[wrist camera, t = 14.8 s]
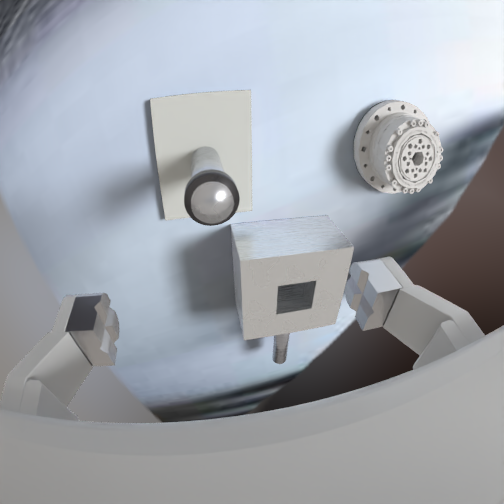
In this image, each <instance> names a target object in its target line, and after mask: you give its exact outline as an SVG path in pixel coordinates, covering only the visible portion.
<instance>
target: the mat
mask: <svg viewBox="0 0 504 504" xmlns="http://www.w3.org/2000/svg"><path fill="white" fill-rule="evenodd" d="M150 104H151V115H152V125H153V135H154V143H155V152H156V160H157V167H158V175H159V182H160V189H161V195H162V202H163V208H164V214H165V220H173V219H181V218H190V216H189V215H188V213H187V211H186V209H185V205H184V193H185V188H186V185H187V183H188V181H189V180H190V179H191V157H192V154H193V153H194V152H195V151H196V150H197V149H198V148H200V147H205V146H207V147H211V148H213V149H215V150H216V151H217V152H218V154H219V157H220V160H221V163H222V166H223V169H224V172H225V173H226V174H228V175H229V176H230V177H231V178H232V179H233V181H234V182H235V184H236V187H237V189H238V192H239V197H240V201H239V206H238V209H237V211H236V212H247V211H252V137H251V90H235V91H216V92H203V93H192V94H182V95H174V96H166V97H159V98H152V99H150ZM236 212H235V213H236Z"/></svg>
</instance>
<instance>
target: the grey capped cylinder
mask: <svg viewBox="0 0 504 504" xmlns="http://www.w3.org/2000/svg"><path fill="white" fill-rule="evenodd" d="M239 201H240V197H239V192H238V189H237V187H236V184H235V182H234V181H233V179H232V178H231V177H230V176H229V175H228V174H226V173H225V172H224V169H223V166H222V163H221V160H220V157H219V154H218V152H217V151H216V150H215V149H213V148H211V147H207V146H205V147H200V148H198V149H197V150H196V151H195V152H194V153H193V154H192V157H191V179H190V180H189V181H188V183H187V185H186V188H185V193H184V205H185V209H186V211H187V213H188V215H189V216H190V217H191V218H192V219H193V220H194V221H196V222H198V223H200V224H203V225H210V226H211V225H218V224H222V223H224V222H226V221H227V220H229V219H230V218H231V217H232V216H233V215H234V214H235V212H236V211H237V209H238V206H239Z"/></svg>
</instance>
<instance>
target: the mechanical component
mask: <svg viewBox="0 0 504 504" xmlns="http://www.w3.org/2000/svg"><path fill="white" fill-rule="evenodd" d="M442 152H443V148H442V147H441V143H440V139H439V133H438V132H437V131H436V130H435V129H434V127H433V126H432V125H431V124H430V123H429V121H428V119H427V117H426V116H425V115H424V113H423V112H422V111H421V110H420V109H419V108H417V107H416V106H414V105H412V104H410V103H407V102H404V101H398V100H389V101H384V102H381V103H379V104H377V105H376V106H374V107H372V108H371V109H370V110H369V112H368V113H367V114H366V115H365V116H364V117H363V119H362V121H361V122H360V124H359V126H358V129H357V131H356V134H355V139H354V159H355V163H356V166H357V169H358V171H359V173H360V175H361V176H362V177H363V179H364V180H365V181H366V182H367V183H368V184H370V185H371V186H372V187H374V188H375V189H377V190H379V191H381V192H384V193H393V194H394V193H398V192H403V193H410V194H413V193H414V192H415V191H416V192H420V190H421V189H422V188H423V187H424V186H426V185H427V183H432V178H433V176H434V175H435V173H436V171H437V169H440V167H441V165H440V164H439V163H440V161H442V159H443V157H442V156H441V153H442Z"/></svg>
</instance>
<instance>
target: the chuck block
mask: <svg viewBox="0 0 504 504" xmlns="http://www.w3.org/2000/svg"><path fill="white" fill-rule="evenodd" d="M231 239H232V257H233V273H234V289H235V302H236V306H237V311H238V316H239V320H240V325H241V329H242V334H243V338H244V340H249V339H256V338H262V337H268V336H274V346H273V361H274V362H275V363H277V364H282V363H284V362H285V361H286V356H287V349H288V341H289V334H290V333H292V332H297V331H302V330H308V329H313V328H318V327H323V326H328V325H332V324H335V323H336V319H337V315H338V312H339V308H340V304H341V300H342V296H343V292H344V288H345V284H346V280H347V276H348V272H349V267H350V263H351V258H352V254H353V249H354V246H353V245H352V244H351V243H350V241H349V240H348V239H347V238H346V237H345V235H344V234H343V233H342V232H341V230H340V229H339V228H338V227H337V226H336V224H335V223H334V222H333V221H332V220H331V219H330V217H329V216H328V215H325V216H312V217H301V218H289V219H278V220H268V221H257V222H247V223H238V224H231Z"/></svg>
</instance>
